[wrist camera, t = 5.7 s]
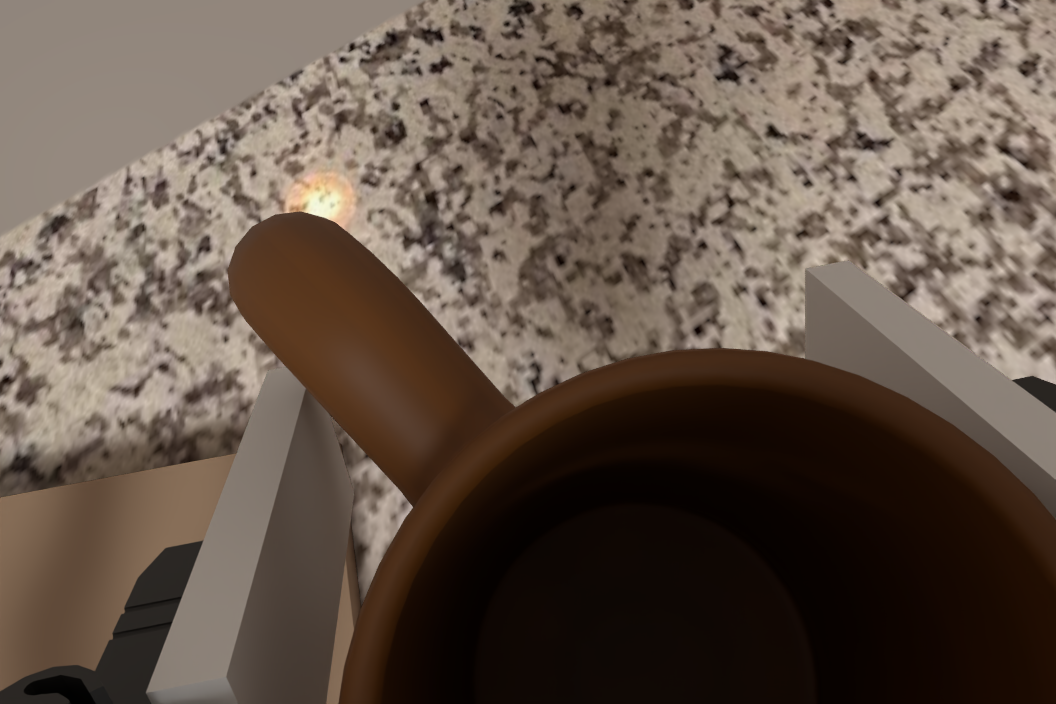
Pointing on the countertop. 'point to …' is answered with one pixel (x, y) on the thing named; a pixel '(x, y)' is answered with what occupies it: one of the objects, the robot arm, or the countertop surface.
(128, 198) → the countertop surface
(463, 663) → the mug
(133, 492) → the shelf
